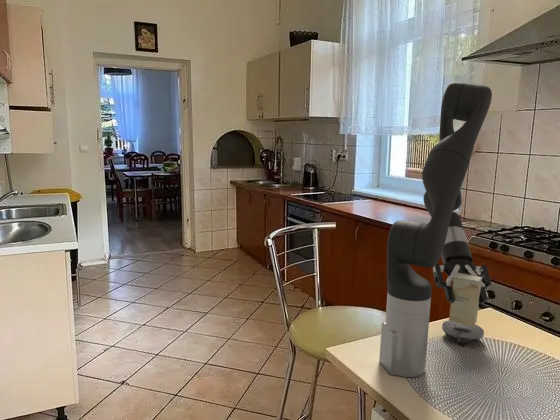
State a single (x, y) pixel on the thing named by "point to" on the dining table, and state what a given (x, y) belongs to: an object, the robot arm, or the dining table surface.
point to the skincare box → (465, 299)
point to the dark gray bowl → (462, 331)
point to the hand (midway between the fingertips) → (467, 302)
